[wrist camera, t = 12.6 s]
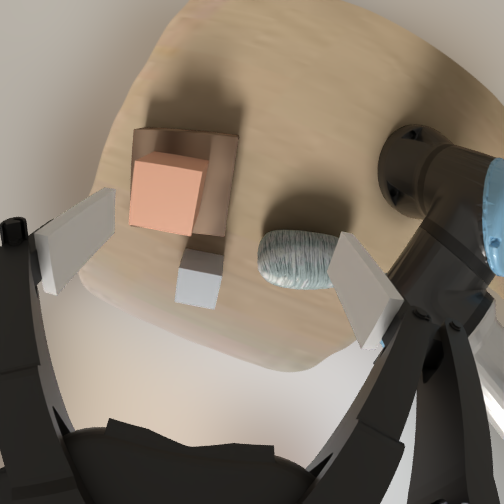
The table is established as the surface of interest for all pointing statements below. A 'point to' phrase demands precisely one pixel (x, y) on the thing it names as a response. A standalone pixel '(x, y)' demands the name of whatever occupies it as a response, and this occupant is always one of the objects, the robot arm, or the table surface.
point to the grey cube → (199, 278)
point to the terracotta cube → (167, 192)
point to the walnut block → (202, 147)
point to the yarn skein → (296, 258)
